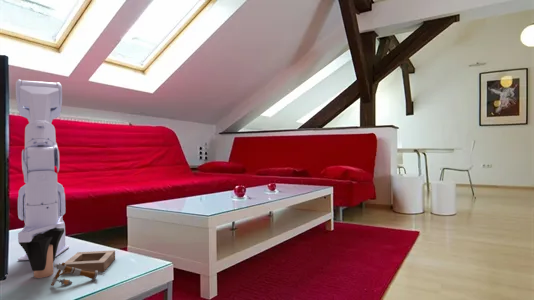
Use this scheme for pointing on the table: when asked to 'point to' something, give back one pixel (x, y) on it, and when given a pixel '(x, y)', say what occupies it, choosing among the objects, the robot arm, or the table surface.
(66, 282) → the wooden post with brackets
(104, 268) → the walnut socket collar
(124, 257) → the table surface
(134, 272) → the table surface
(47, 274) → the terracotta peg
